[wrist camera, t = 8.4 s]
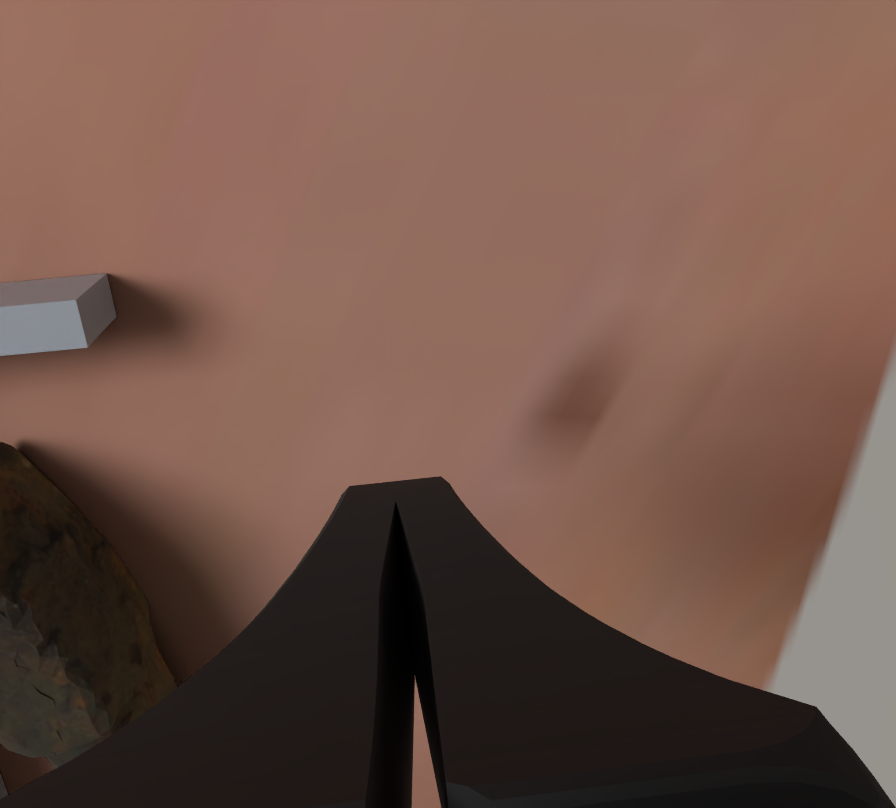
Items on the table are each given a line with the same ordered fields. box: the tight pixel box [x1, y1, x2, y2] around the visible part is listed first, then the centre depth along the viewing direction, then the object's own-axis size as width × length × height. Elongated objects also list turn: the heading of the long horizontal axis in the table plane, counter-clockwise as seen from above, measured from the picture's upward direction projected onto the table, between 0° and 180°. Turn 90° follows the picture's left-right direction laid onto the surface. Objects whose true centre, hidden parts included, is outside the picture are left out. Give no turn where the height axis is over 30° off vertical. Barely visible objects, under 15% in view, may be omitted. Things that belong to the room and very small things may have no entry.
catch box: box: [0, 273, 117, 799], centre depth 22 cm, size 7×24×2 cm, turn 4°
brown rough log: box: [0, 442, 178, 769], centre depth 22 cm, size 19×4×5 cm, turn 13°
